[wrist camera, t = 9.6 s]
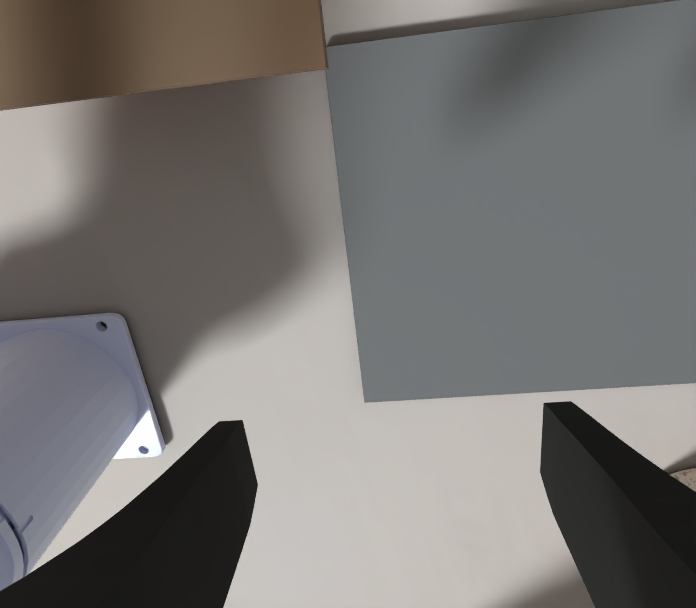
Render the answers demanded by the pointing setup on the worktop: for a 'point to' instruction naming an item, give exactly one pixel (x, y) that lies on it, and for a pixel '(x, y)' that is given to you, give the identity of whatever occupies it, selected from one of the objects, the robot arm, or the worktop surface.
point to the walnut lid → (149, 45)
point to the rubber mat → (521, 203)
